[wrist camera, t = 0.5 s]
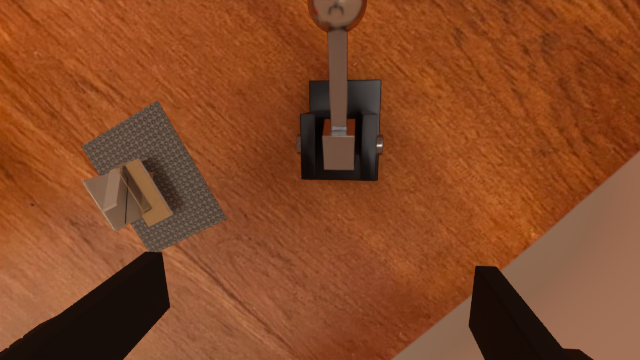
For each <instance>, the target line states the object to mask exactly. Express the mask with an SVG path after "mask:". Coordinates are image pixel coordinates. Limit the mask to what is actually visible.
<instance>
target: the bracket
mask: <svg viewBox="0 0 640 360" xmlns="http://www.w3.org/2000/svg"><path fill="white" fill-rule="evenodd" d="M309 96H310V112H307V113H303V114H300V134H298V135H297V140H296V149H297V153H298V154H301V179H304V180H361V181H377V180H378V158H379V155H382V152H383V135H379V131H380V104H381V80H348V91H347V119H355V169H354V170H324V168H323V150H322V132H323V127H324V121H325V119H330V94H329V81H309Z"/></svg>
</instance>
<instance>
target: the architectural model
mask: <svg viewBox="0 0 640 360" xmlns="http://www.w3.org/2000/svg"><path fill="white" fill-rule="evenodd" d="M81 147H82V148H83V150H84V151H85V153H86V155H87V156H88V158H89V159H90V161H91V162H92V164H93V165H94V167H95V169H96V170H97V172H98V173H99V175H100V176H98V177H95V178H91V179H88V180H84V181H82V183H83V184H84V186H85V187H86V189H87V190H88V192H89V194H90V195H91V197H92V198H93V200H94V201H95V203H96V204H97V206H98V207H99V209H100V210H101V212H102V213H103V215H104V216H105V218H106V219H107V221H108V222H109V224H110V226H111V227H112V229H113V230H114V232H115V231H117V230H119V229H121V228H123V227H125V226H127V225H128V224H130V223H131V224H132V226H133V228H134V229H135V231H136V232H137V234H138V235H139V237H140V238H141V240H142V242H143V243H144V245H145V246H146V248H147V249H148V251H149V252H159V251H161V250H163V249H165V248H167V247H169V246H171V245H173V244H175V243H177V242H179V241H181V240H183V239H185V238H188V237H190V236H192V235H194V234H196V233H198V232H200V231H202V230H204V229H206V228H208V227H210V226H212V225H215V224H217V223H219V222H221V221H223V220H225V219H227V218H226V217H225V215H224V213H223V212H222V210H221V208H220V206H219V205H218V203H217V201H216V200H215V198H214V196H213V195H212V193H211V191H210V189H209V188H208V186H207V184H206V183H205V181H204V179H203V177H202V176H201V174H200V172H199V171H198V169H197V167H196V166H195V164H194V162H193V160H192V159H191V157H190V155H189V154H188V152H187V150H186V148H185V147H184V145H183V143H182V142H181V140H180V138H179V136H178V135H177V133H176V131H175V130H174V128H173V126H172V125H171V123H170V121H169V119H168V118H167V116H166V114H165V113H164V111H163V109H162V107H161V106H160V104H159V102H158V101H156V102H154V103H152V104H151V105H149V106H148V107H146V108H144V109H143V110H141V111H139V112H138V113H136V114H134V115H133V116H131V117H129V118H128V119H126V120H124V121H123V122H121V123H119V124H118V125H116V126H114V127H113V128H111V129H109V130H108V131H106V132H105V133H103V134H101V135H100V136H98V137H96V138H95V139H93V140H91V141H90V142H88V143H86V144H85V145H83V146H81Z"/></svg>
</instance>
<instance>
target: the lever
mask: <svg viewBox="0 0 640 360" xmlns="http://www.w3.org/2000/svg"><path fill="white" fill-rule="evenodd" d="M307 4H308V10H309V14H310V16H311V18H312V20H313V22H314V23H315V24H316V25H317V27H319V28H320V29H321V30H323V31H324V32H326V33H327V37H328V66H329V94H330V119H325V121H324V127H323V132H322V150H323V168H324V170H354V169H355V119H347V91H348V32H349V31H351V30H352V29H353V28H355V27H356V26H357V25H358V24H359V23H360V21H361V20H362V18H363V16H364V14H365V11H366V7H367V0H307Z"/></svg>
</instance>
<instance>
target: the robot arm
mask: <svg viewBox="0 0 640 360" xmlns="http://www.w3.org/2000/svg"><path fill="white" fill-rule="evenodd" d="M169 308H170V303H169V296H168V289H167V283H166V276H165V270H164V263H163V256H162V252H145V253H143V254H142V255H140V256H139V257H138V258H136V259H135V260H133V261H132V262H131V263H129V264H128V265H127V266H125V267H124V268H122V269H121V270H120V271H118V272H117V273H116V274H114V275H113V276H111V277H110V278H109V279H107V280H106V281H105V282H103V283H102V284H100V285H99V286H98V287H96V288H95V289H94V290H92V291H91V292H89V293H88V294H87V295H85V296H84V297H83V298H81V299H80V300H78V301H77V302H76V303H74V304H73V305H71V306H70V307H69V308H67V309H66V310H65V311H63V312H62V313H60V314H59V315H57V316H55V317H53V318H51V319H49V320H47V321H45V322H43V323H41V324H39V325H38V326H36V327H35V328H34V329H32V330H31V331H29V332H28V333H27V334H25V335H24V336H23V338H20V339H18V340H17V341H15V342H14V343H13V344H11V345H10V347H9V348H6V349H4V350H3V351H1V352H0V360H123V359H124V358H125V357H126V356H127V355H128V353H129V352H130V351H131V350H132V349H133V348H134V347H135V346H136V345H137V343H138V342H139V341H140V340H141V339H142V338H143V337H144V336H145V334H146V333H147V332H148V331H149V330H150V329H151V328H152V327H153V326H154V324H155V323H156V322H157V321H158V320H159V319H160V318H161V317H162V316H163V314H164V313H165V312H166V311H167V310H168V309H169ZM469 328H470V330H471V332H472V334H473V336H474V338H475V340H476V342H477V344H478V347H479V349H480V351H481V353H482V355H483V357H484V359H485V360H593V359H592V358H590V357H589V356H587V355H586V354H585V353H583V352H582V351H580V350H579V349H564V348H562V347H561V346H560V344H559V343H558V342H557V341H556V339H555V338H554V337H553V336H552V335H551V333H550V332H549V331H548V330H547V328H546V327H545V326H544V325H543V323H542V322H541V321H540V320H539V319H538V317H537V316H536V315H535V314H534V313H533V311H532V310H531V309H530V307H529V306H528V305H527V304H526V303H525V301H524V300H523V299H522V298H521V296H520V295H519V294H518V293H517V292H516V290H515V289H514V288H513V287H512V285H511V284H510V283H509V282H508V280H507V279H506V278H505V277H504V276H503V274H502V273H501V272H500V271H499V269H498V268H497V267H492V266H476V267H475V276H474V284H473V293H472V301H471V310H470V318H469Z"/></svg>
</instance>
